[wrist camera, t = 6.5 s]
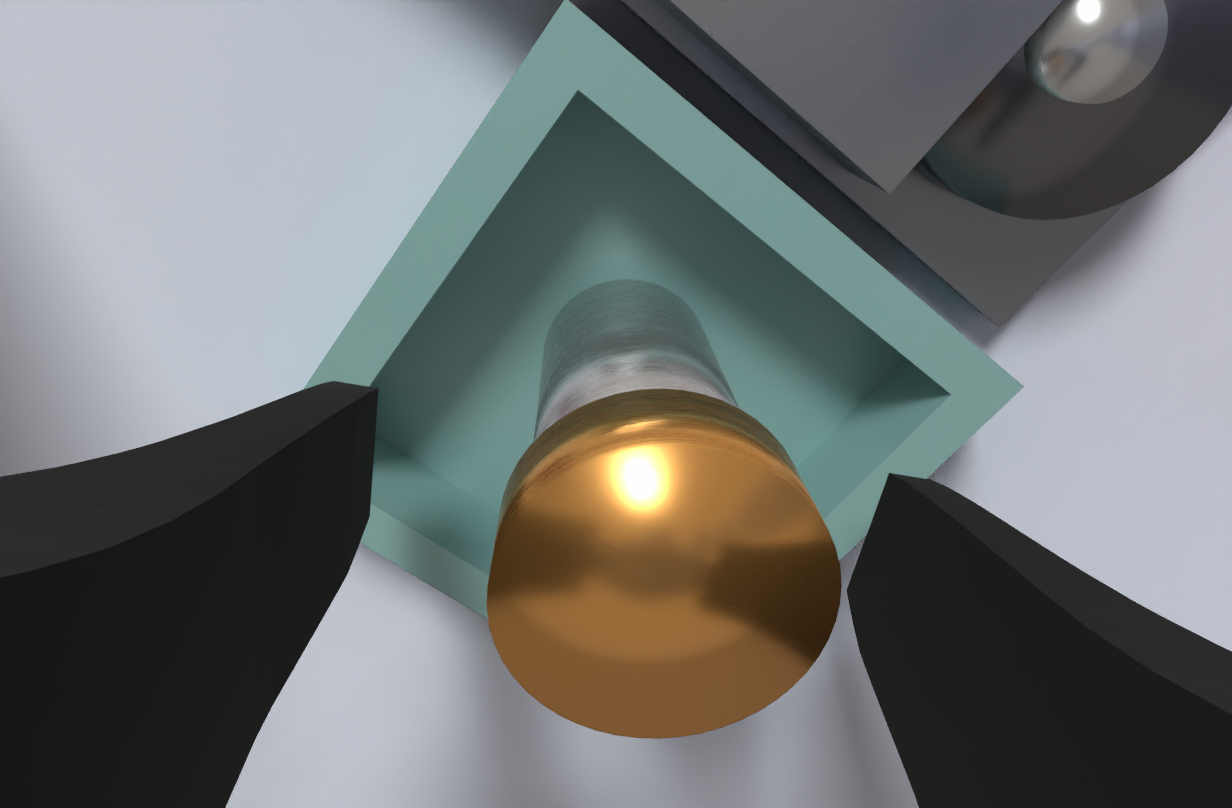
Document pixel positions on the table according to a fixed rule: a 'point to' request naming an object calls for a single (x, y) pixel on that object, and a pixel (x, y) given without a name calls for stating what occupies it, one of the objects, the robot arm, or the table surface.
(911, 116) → the plate
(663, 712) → the pin
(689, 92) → the table surface
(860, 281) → the tray
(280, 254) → the table surface
